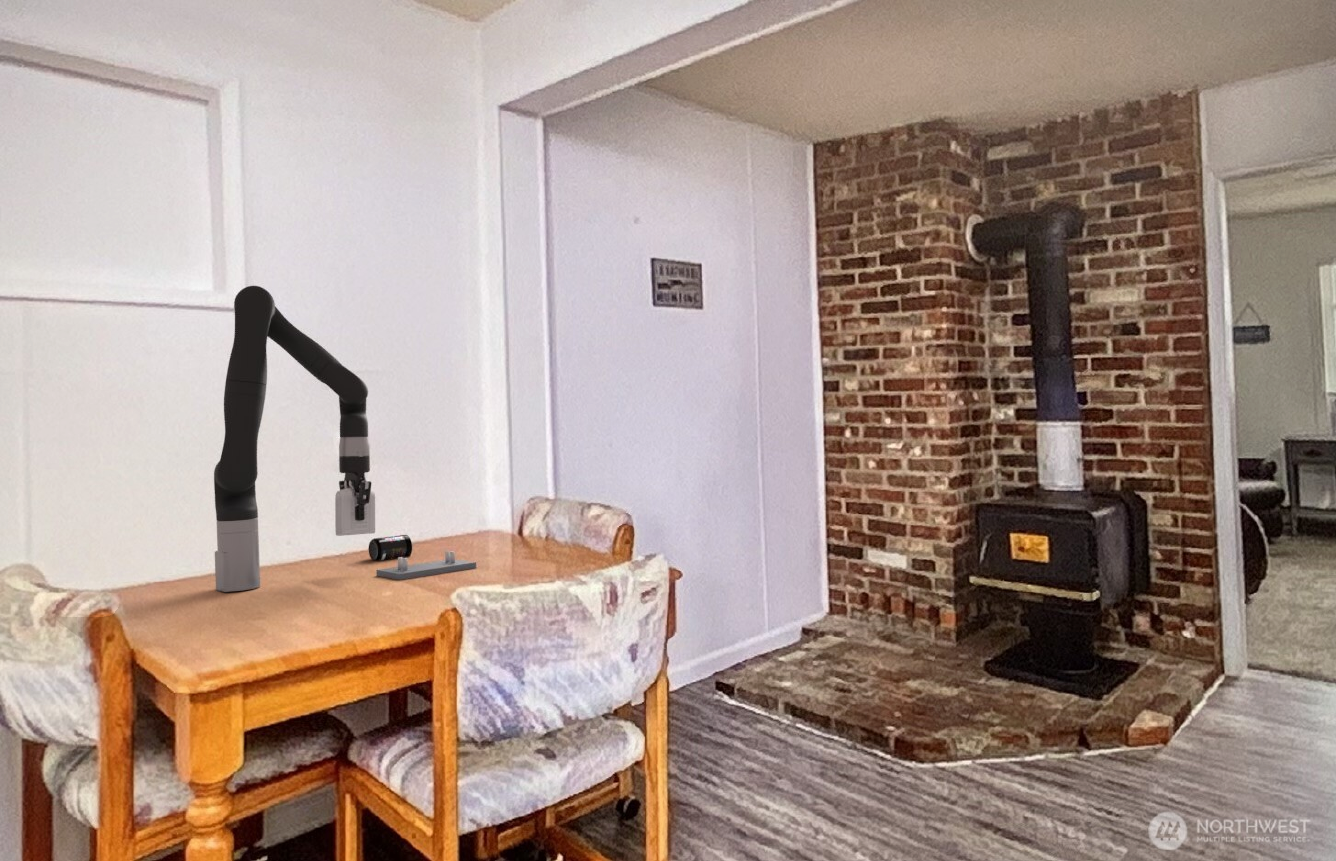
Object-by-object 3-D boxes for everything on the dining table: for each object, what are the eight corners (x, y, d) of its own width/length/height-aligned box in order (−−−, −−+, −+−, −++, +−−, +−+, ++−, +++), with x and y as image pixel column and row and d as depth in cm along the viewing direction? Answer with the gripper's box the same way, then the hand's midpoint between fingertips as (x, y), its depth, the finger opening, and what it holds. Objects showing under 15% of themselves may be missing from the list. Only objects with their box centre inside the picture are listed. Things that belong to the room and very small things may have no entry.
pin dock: (476, 567, 230) (475, 550, 230) (400, 580, 214) (399, 561, 214) (451, 564, 238) (451, 548, 238) (376, 575, 222) (375, 558, 222)
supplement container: (365, 548, 252) (398, 544, 259) (373, 566, 248) (406, 562, 256) (372, 533, 248) (406, 529, 256) (380, 551, 245) (414, 547, 252)
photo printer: (370, 532, 232) (370, 486, 232) (378, 533, 229) (377, 486, 229) (332, 535, 225) (332, 488, 225) (339, 536, 222) (339, 488, 222)
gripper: (328, 455, 229) (329, 519, 229) (353, 454, 219) (354, 522, 219) (355, 454, 235) (356, 517, 235) (381, 454, 225) (382, 520, 225)
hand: (355, 519), depth 227 cm, fingers closed on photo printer, 4 cm apart
